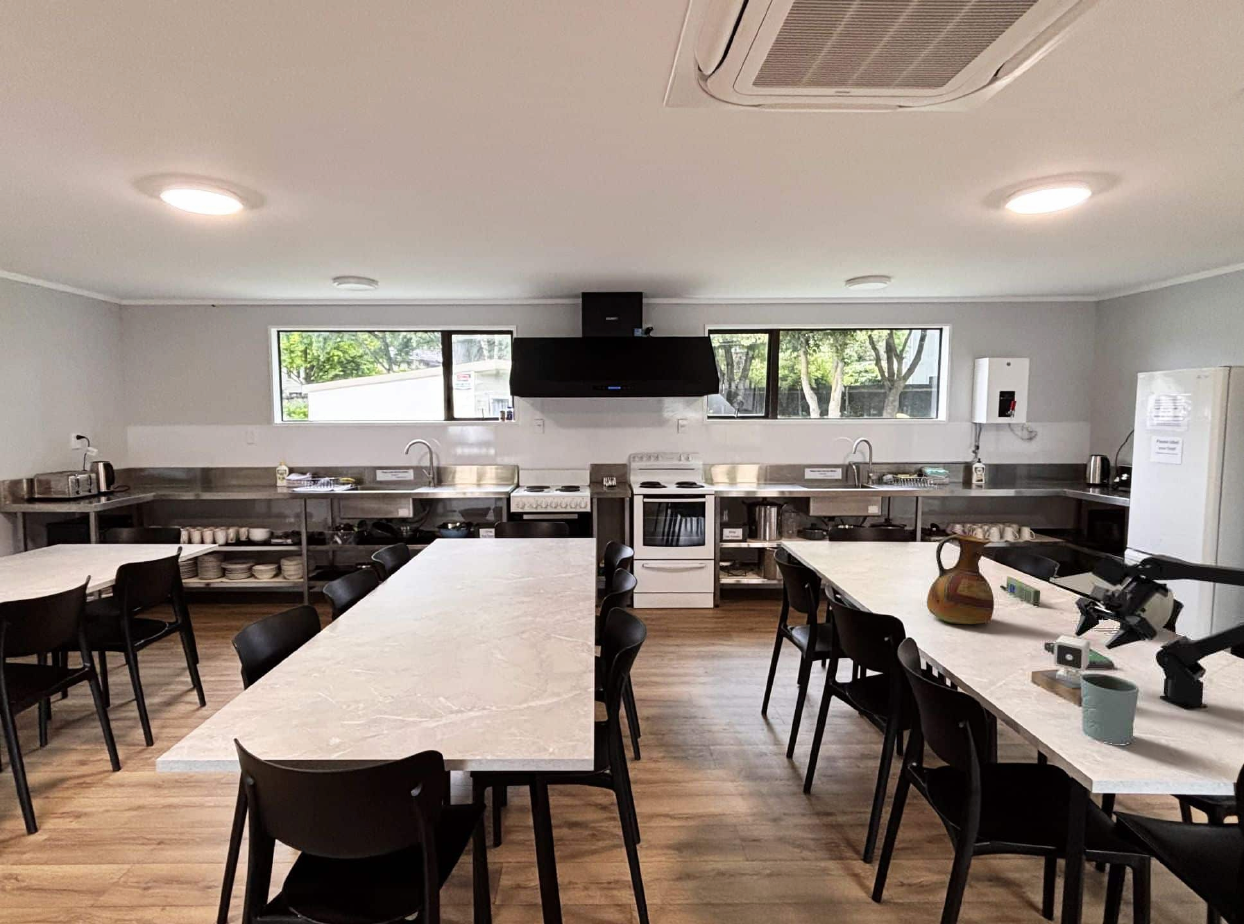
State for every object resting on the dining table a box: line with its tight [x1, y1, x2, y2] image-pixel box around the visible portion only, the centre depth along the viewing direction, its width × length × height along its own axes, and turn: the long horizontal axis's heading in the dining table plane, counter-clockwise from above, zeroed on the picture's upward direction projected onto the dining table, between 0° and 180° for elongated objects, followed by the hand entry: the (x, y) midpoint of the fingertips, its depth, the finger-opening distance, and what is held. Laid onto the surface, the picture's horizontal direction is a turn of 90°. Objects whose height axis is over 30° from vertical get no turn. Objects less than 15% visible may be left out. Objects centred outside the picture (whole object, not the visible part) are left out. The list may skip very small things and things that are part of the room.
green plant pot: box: [1080, 673, 1140, 744], centre depth 136 cm, size 10×10×12 cm
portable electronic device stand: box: [1049, 571, 1174, 635], centre depth 212 cm, size 26×24×16 cm
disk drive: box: [1043, 642, 1115, 670], centre depth 181 cm, size 10×3×15 cm
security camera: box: [1053, 635, 1091, 684], centre depth 158 cm, size 6×7×10 cm
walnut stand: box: [1030, 668, 1082, 707], centre depth 158 cm, size 14×9×4 cm, turn 10°
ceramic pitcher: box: [926, 533, 995, 625], centre depth 215 cm, size 20×20×30 cm
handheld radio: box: [999, 576, 1041, 607], centre depth 244 cm, size 7×3×25 cm
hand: (1091, 641), depth 158 cm, fingers open, 9 cm apart
